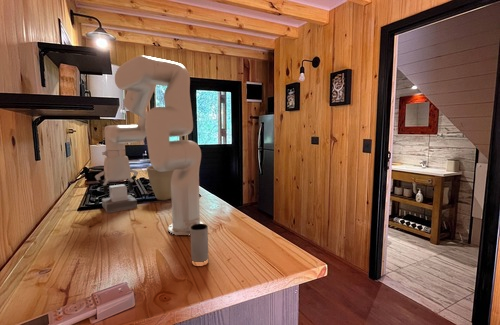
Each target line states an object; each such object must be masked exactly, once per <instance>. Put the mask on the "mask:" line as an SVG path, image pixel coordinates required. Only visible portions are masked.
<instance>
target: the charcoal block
mask: <svg viewBox="0 0 500 325" xmlns="http://www.w3.org/2000/svg"><path fill="white" fill-rule="evenodd" d="M127 198H128V200H123V201H117V202H112V201H111V199H110V197H104V198H101V205H102V206H101V207H102V208H103V209H104V211H105V212H106V213H107V214H112V213H115V212H121V211H126V210H127V211H128V210H132V209H137V208H138V200H137V199H136V198H135V197H134V196H132V195H131V194H127Z"/></svg>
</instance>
